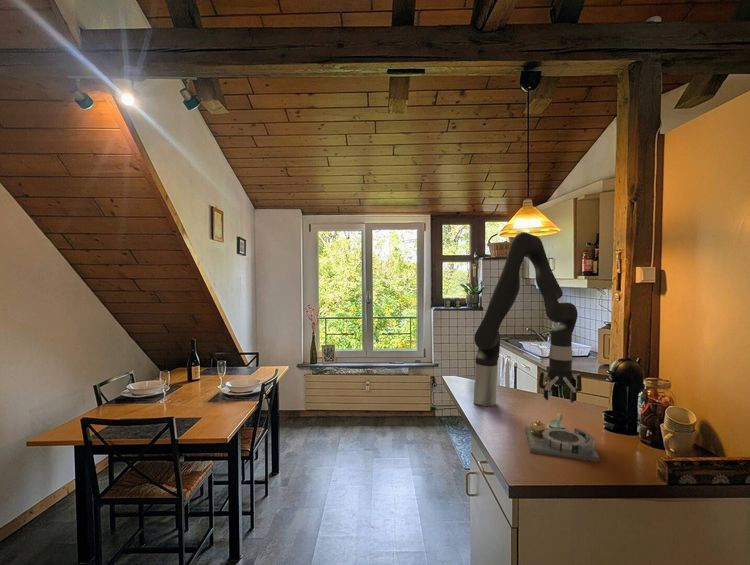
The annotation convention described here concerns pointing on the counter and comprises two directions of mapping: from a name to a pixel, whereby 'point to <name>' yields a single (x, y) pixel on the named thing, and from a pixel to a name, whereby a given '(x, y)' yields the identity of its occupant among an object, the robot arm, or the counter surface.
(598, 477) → the counter surface
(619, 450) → the counter surface
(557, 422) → the pacifier
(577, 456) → the grey ring holder
